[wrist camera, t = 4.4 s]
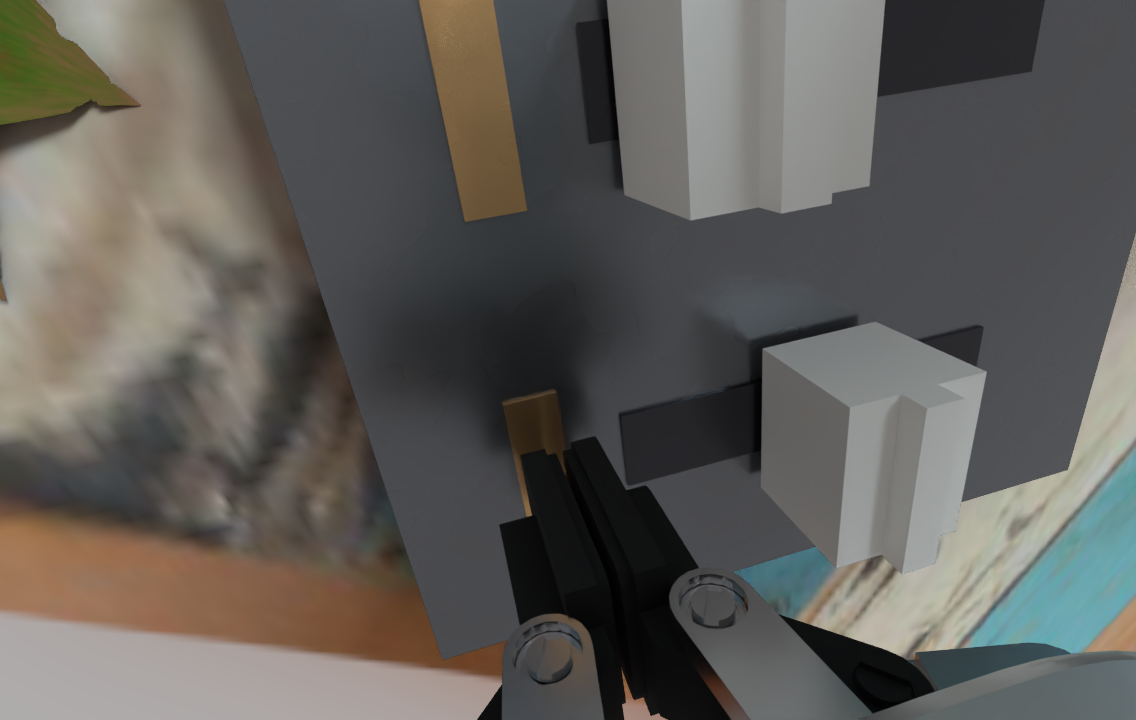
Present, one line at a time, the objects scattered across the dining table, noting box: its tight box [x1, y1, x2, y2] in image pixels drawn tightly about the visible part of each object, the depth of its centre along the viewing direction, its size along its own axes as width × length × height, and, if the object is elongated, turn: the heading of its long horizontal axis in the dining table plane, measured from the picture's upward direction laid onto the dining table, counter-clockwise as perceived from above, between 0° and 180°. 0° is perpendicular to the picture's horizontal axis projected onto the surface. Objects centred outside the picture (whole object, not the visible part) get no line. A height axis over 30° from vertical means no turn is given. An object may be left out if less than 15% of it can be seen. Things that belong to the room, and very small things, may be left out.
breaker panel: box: [224, 0, 1136, 660], centre depth 14 cm, size 20×18×2 cm
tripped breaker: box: [761, 322, 987, 574], centre depth 13 cm, size 3×4×4 cm
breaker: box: [607, 0, 885, 220], centre depth 9 cm, size 3×4×4 cm
